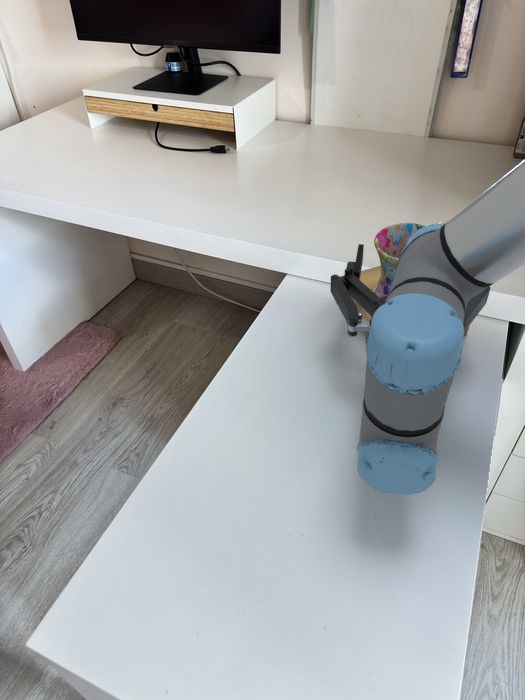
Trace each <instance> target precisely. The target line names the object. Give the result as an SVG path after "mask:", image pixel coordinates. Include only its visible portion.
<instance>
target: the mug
mask: <svg viewBox="0 0 525 700" xmlns="http://www.w3.org/2000/svg"><path fill="white" fill-rule="evenodd" d="M425 226H426V225H424V224H420V223H415V222H399V223H394V224H391V225H388V226H386V227H383V228H382V229H380V230H379V231H378V232H377V233H376V235H375V236H374V239H373V243H374V248H375V250H376V252H377V254H378V258H379V263H380V266H381V275H380V279H379V282H378V284H377V285H376V286H375V288H374V290H373V292H374V293H375V294H376V295H377V296H378V297H379V298H381V297H383V298H384V299H385V300H387V297H388V294H389V291H390V288H391V285H392V282H393V279H394V276H395V273H396V270H397V263H398V259H399V257H400V256H401V253H402V251H403V249H404V248H405V246H406V244H407V242H408V240H409V239H410V237H411V236H412V235H413V234H414V233H415V232H416V231H418V230H419V229H421V228H422V227H425Z"/></svg>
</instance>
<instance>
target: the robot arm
mask: <svg viewBox="0 0 525 700" xmlns="http://www.w3.org/2000/svg"><path fill="white" fill-rule="evenodd" d="M424 226H425V227H422V228H421V229H419V230H418V231H416V232H415V233H414V234H413V235H412V236H411V237H410V239H409V240H408V242H407V244H406V246H405V248H404V249H403V251H402V253H401V256H400V257H399V259H398V263H397V270H396V273H395V276H394V279H393V282H392V285H391V288H390V291H389V294H388V297H387V300H385V299H384V298H383V297H381V298H379V297H378V296H377V295H376V294H375V293H374V292H373V291H371V290H370V289H369V288H368V287H367V286H366V285H365V284H364V283H363V282H361V281H360V275H361V271H362V269H363V268H362V267H363V262H364V251H365V249H364V248H365V244H363V243H362V244H361V243H358V246H357V251H356V257H355V261H351V260H349V261H348V262H347V263H346V266H345V267H346V268H345V269H344V274H343V275H338V274H332V275H330V293H331V296H332V297H333V299H334V301H335V303H336V305H337V307H338V308H339V310H340V312H341V314H342V316H343V318H344V320H345V321H346V324H347V335H348V336H350V337H355V336H356V337H357V335H358V332H368V337H367V338H366V341H365V353H366V364H365V365H366V366H365V378H364V390H363V391H364V392H363V399H362V408H361V409H362V411H361V420H360V431H359V432H360V433H359V439H358V443H357V447H356V451H357V460H356V462H357V463H356V469H357V473H358V476H359V477H360V478H361V479H362V481H363V482H364V483H365V484H366V485H368V486H369V487H371V488H373V489H375V490H377V491H379V492H383V493H385V494H393V495H397V496H410V495H415V494H419V493H423V492H425V491H426V490H428V489H429V488H431V486H432V485H433V484H434V482H435V480H436V477H437V465H438V464H437V463H438V461H439V454H438V439H439V432H440V430H441V426H442V422H443V419H444V416H445V415H444V413H445V409H446V403H447V401H448V398H449V393H450V390H451V387H452V385H453V380H454V377H455V375H456V374H455V373H456V371H458V368H459V367H460V363H461V361H462V360H461V354H462V351H463V346H464V336H465V335H464V332H465V330H466V329H467V328H468V327H469V328H470V325H471V324H472V323H473V321H474V320H475V319H476V318H477V316H478V315H479V314H480V312H481V311H482V310H483V308H484V307H485V306H486V304H487V301H488V299H489V295H490V292H491V289H492V288H491V286H492V285H494V284H496V283H497V282H499V281H500V280H502V279H504V278H505V277H506V276H509V275H510V274H512V273H513V272H514V271H516V270H518V269H519V268H521V267H523V266H525V159H523V160H522V161H521V162H519V163H518V165H516V166H515V167H514V168H513V169H511V170H510V171H509V172H507V173H506V174H505V175H504V176H502V177H501V178H500V179H499V180H498V181H496V182H495V183H494V184H492V185H491V186H490V187H489V188H487V189H486V190H485V191H484V192H482V193H481V194H480V195H479V196H478V197H476V198H475V199H474V200H473V201H471V202H470V203H469V204H468V205H467V206H465V207H464V208H463V209H461V211H459V212H458V213H457V214H456V215H454V216H453V217H452V218H450V219H449V220H447V221H446V222H438V223H434V224H429V225H424ZM340 276H341V277H340ZM351 297H352V298H353V299H354V300H355V301H356V302H357V303H358V304H359V305H360V306H361V307H362V308H364V309H365V310H366V311H367V312H368V313H369V314H370V315H371V317H372V318H371V320H370V321H367V320H365V318H364V317H363V316H362V313H360V312H359V310H358V309H357V306H356V305H355V303H354V301H353V299H352V298H351Z"/></svg>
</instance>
